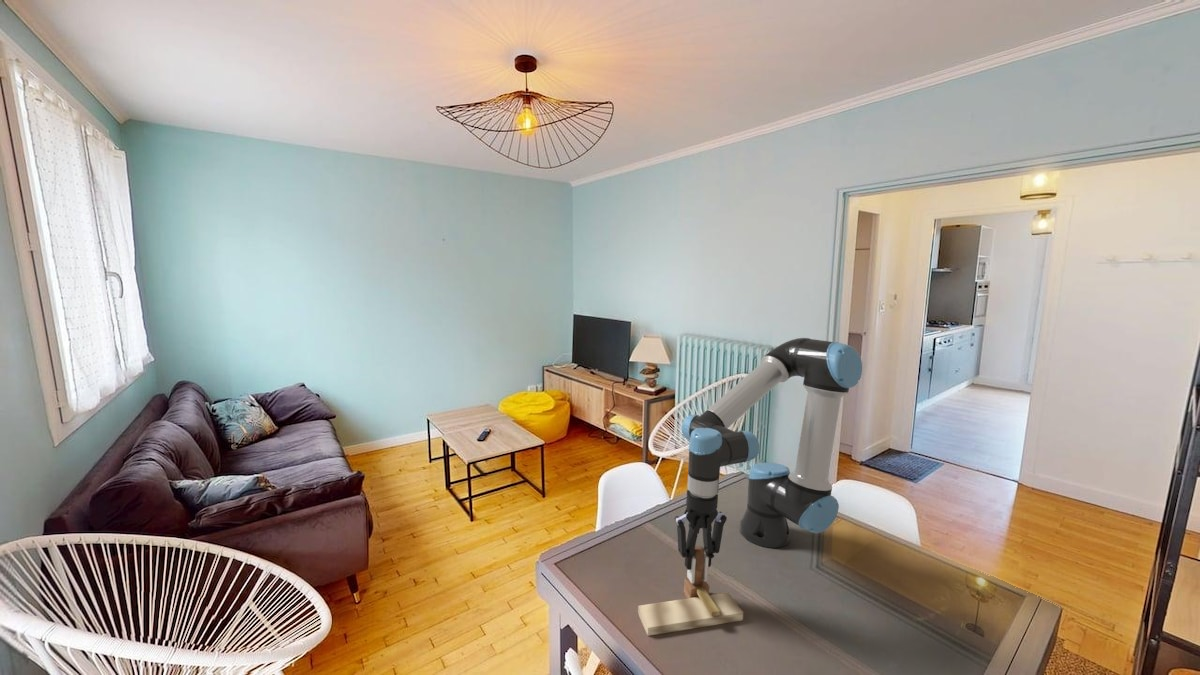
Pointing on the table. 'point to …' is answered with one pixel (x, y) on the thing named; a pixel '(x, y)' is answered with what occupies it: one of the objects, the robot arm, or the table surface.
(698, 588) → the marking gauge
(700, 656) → the table surface
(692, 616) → the board
